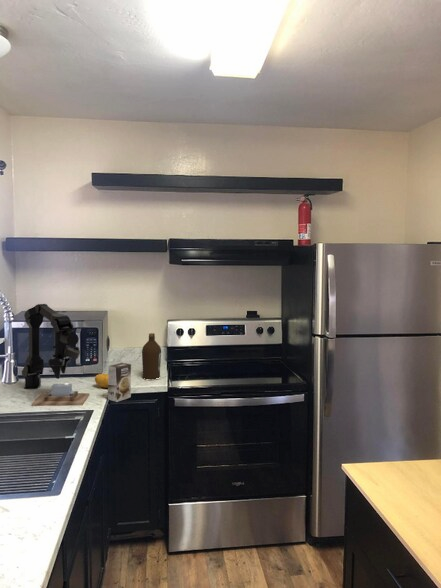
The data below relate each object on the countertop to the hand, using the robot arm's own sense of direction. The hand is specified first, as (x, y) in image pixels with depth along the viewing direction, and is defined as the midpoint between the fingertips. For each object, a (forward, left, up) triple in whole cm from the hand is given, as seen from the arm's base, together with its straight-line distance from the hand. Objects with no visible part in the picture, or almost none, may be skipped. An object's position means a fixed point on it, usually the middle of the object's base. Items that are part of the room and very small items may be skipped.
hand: (60, 375), depth 203 cm
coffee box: (+27, 0, -11) cm, 29 cm away
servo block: (+1, -2, -10) cm, 10 cm away
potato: (+19, +18, -11) cm, 28 cm away
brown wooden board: (+1, -2, -11) cm, 11 cm away
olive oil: (+40, +36, -11) cm, 55 cm away
